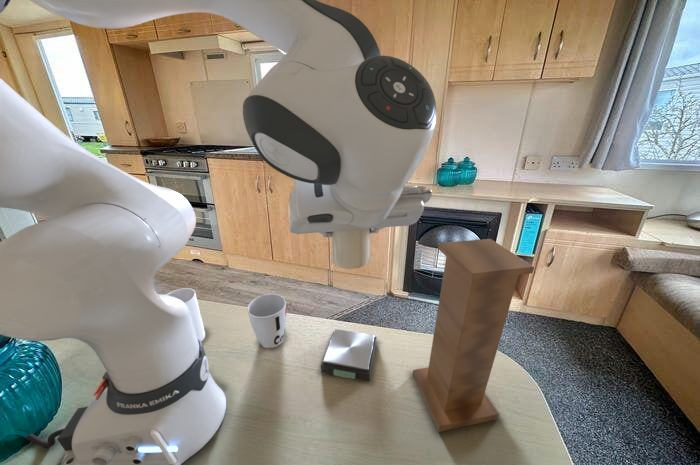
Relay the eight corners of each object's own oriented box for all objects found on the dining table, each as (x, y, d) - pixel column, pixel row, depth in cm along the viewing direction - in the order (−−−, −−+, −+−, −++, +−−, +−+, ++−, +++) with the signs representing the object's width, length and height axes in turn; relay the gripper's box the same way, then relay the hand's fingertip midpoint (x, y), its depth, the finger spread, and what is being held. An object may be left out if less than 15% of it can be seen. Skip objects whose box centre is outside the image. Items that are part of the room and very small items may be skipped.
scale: (320, 374, 56) (319, 364, 55) (334, 336, 65) (333, 327, 64) (369, 383, 54) (369, 373, 53) (376, 343, 63) (376, 334, 62)
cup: (280, 356, 60) (275, 320, 56) (246, 350, 61) (239, 314, 57) (294, 329, 67) (291, 296, 63) (264, 325, 69) (258, 291, 65)
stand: (438, 432, 46) (469, 278, 34) (412, 375, 56) (429, 240, 44) (497, 419, 48) (547, 270, 36) (462, 366, 58) (492, 235, 46)
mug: (185, 328, 68) (172, 287, 63) (211, 329, 67) (201, 288, 63) (157, 362, 58) (139, 317, 54) (188, 363, 58) (173, 319, 53)
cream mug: (334, 270, 47) (332, 214, 43) (328, 246, 55) (326, 197, 51) (373, 266, 48) (375, 212, 44) (361, 243, 56) (362, 195, 52)
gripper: (432, 167, 39) (402, 211, 51) (282, 173, 35) (290, 218, 48) (443, 208, 37) (409, 243, 49) (285, 218, 33) (292, 253, 46)
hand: (349, 231), depth 49 cm, fingers closed on cream mug, 7 cm apart
